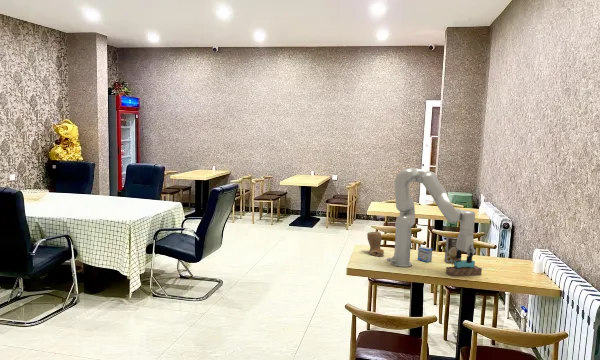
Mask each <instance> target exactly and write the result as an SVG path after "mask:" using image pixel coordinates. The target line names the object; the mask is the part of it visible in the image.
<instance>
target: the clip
mask: <svg viewBox="0 0 600 360" xmlns="http://www.w3.org/2000/svg"><path fill="white" fill-rule="evenodd" d="M466 261H467V259H466V260H465V259H464V260H462V259H461V260H458V261H454V263H453V267H454V268H455V269H460V268H461V267H468V268H474V266H476V265H475V264H476V261H475V260H473V259H472V263H466Z"/></svg>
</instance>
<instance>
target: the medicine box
mask: <svg viewBox="0 0 600 360" xmlns="http://www.w3.org/2000/svg"><path fill="white" fill-rule="evenodd" d="M417 261H420V262H425V263H431V262H432V261H433V248H432V247H425V246H422V245H421V246H419V247H418V250H417Z"/></svg>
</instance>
